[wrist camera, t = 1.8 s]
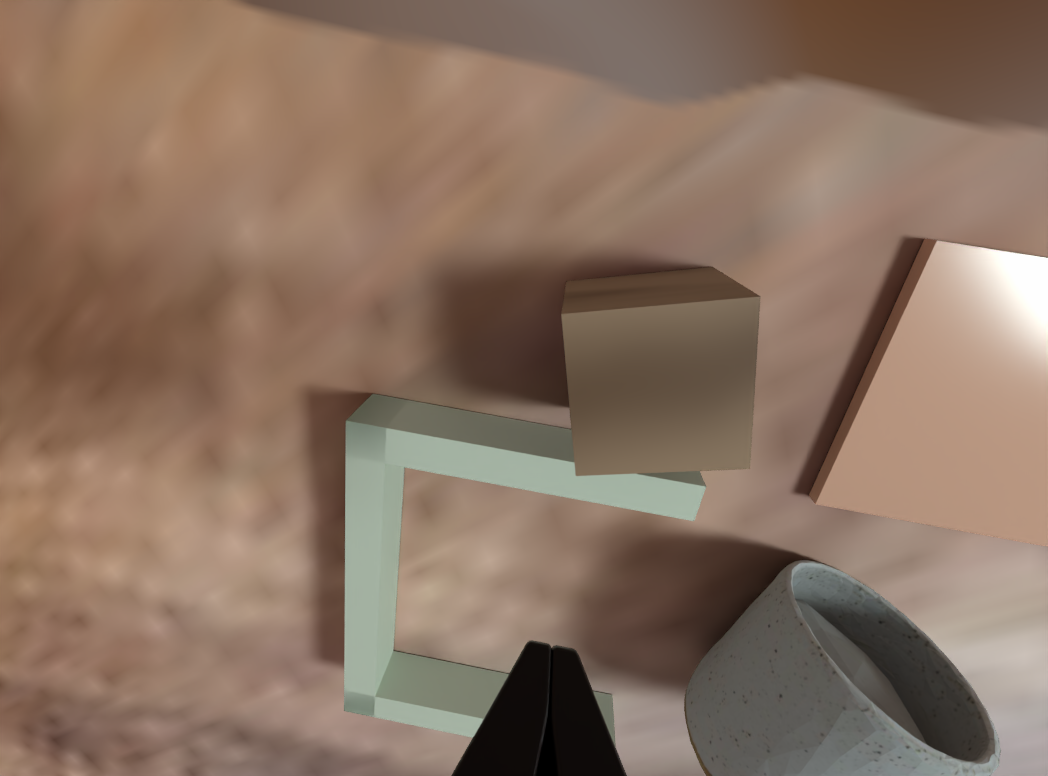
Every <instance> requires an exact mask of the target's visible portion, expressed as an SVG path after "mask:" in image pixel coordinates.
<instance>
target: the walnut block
mask: <svg viewBox="0 0 1048 776" xmlns="http://www.w3.org/2000/svg"><path fill="white" fill-rule="evenodd" d="M759 311H760V296H759V295H757V294H755V293H754V292H752V291H751V290H749V289H747V288H746V287H744V286H743V285H741V284H739V283H738V282H736V281H734V280H733V279H731V278H730V277H728V276H726V275H725V274H723V273H722V272H720V271H718V270H717V269H715V268H713V267H705V268H695V269H685V270H675V271H664V272H654V273H644V274H634V275H624V276H613V277H603V278H593V279H583V280H573V281H566V286H565V293H564V299H563V306H562V312H561V318H562V329H563V340H564V351H565V363H566V374H567V385H568V396H569V407H570V418H571V430H572V441H573V452H574V463H575V474H576V476H590V475H614V474H638V473H662V472H686V471H711V470H735V469H750V460H751V443H752V426H753V410H754V393H755V377H756V360H757V344H758V327H759Z"/></svg>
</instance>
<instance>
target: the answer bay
mask: <svg viewBox="0 0 1048 776" xmlns="http://www.w3.org/2000/svg"><path fill="white" fill-rule="evenodd" d="M404 467H406V468H411V469H417V470H422V471H428V472H433V473H438V474H444V475H449V476H454V477H460V478H465V479H470V480H476V481H481V482H487V483H492V484H497V485H503V486H508V487H513V488H519V489H524V490H529V491H535V492H540V493H545V494H551V495H556V496H562V497H567V498H572V499H578V500H583V501H588V502H594V503H599V504H604V505H610V506H615V507H621V508H626V509H631V510H637V511H642V512H647V513H653V514H658V515H663V516H669V517H674V518H680V519H685V520H690V521H694V520H695V517H696V514H697V511H698V508H699V506H700V503H701V500H702V497H703V494H704V491H705V488H706V485H705V483H704V481H703V478H702V476H701V473H700V471H686V472H662V473H638V474H614V475H590V476H576V474H575V463H574V452H573V441H572V430H571V429H565V428H560V427H554V426H549V425H543V424H538V423H532V422H527V421H521V420H516V419H510V418H504V417H499V416H493V415H488V414H482V413H477V412H471V411H466V410H460V409H455V408H449V407H444V406H438V405H433V404H427V403H422V402H416V401H410V400H405V399H399V398H394V397H388V396H383V395H377V394H372V395H371V396H370V397H369V398H368V399H367V400H366V401H365V402H364V403H363V404H362V405H361V406H360V407H359V408H358V409H357V410H356V411H355V412H354V413H353V414H352V415H351V416H350V417H349V418H348V419H347V420H346V476H345V653H344V711H347V712H352V713H357V714H362V715H366V716H371V717H376V718H381V719H386V720H390V721H395V722H400V723H405V724H410V725H415V726H419V727H424V728H429V729H434V730H439V731H443V732H448V733H453V734H458V735H463V736H467V737H472V738H473V737H474V735H475V733H476V731H477V730H478V728H479V726H480V724H481V723H482V721H483V719H484V717H485V716H486V714H487V712H488V710H489V709H490V707H491V705H492V703H493V702H494V700H495V698H496V696H497V694H498V693H499V691H500V689H501V687H502V686H503V684H504V682H505V680H506V679H507V677H508V675H509V674H506V673H501V672H496V671H491V670H486V669H481V668H476V667H471V666H466V665H461V664H456V663H451V662H447V661H442V660H437V659H432V658H427V657H422V656H417V655H412V654H407V653H402V652H397V651H393V648H394V632H395V615H396V599H397V583H398V566H399V550H400V533H401V517H402V500H403V484H404ZM593 692H594V695H595V697H596V700H597V703H598V705H599V708H600V710H601V713H602V715H603V718H604V720H605V723H606V725H607V728H608V730H609V733H610V735H611V738H612V740H613V743H614V745H615V730H614V714H613V698H612V695H610V694H605V693H600V692H595V691H593ZM615 746H616V745H615Z"/></svg>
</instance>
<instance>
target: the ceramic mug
mask: <svg viewBox="0 0 1048 776" xmlns="http://www.w3.org/2000/svg"><path fill="white" fill-rule="evenodd" d="M684 711H685V718H686V724H687V728H688V733H689V737H690V741H691V744H692V746H693V749H694V751H695V753H696V756H697V758H698V760H699V763H700V765H701V767H702V769H703V771H704V772H705V774H706V776H990V775H991V774H992V773H993V772H994V771H995V770H996V768H997V767H998V766H999V757H1000V752H1001V750H1000V745H999V738H998V735H997V733H996V730H995V728H994V725H993V723H992V721H991V718H990V716H989V714H988V712H987V710H986V709H985V707H984V706H983V704H982V703H981V701H980V699H979V698H978V696H977V694H976V693H975V691H974V690H973V688H972V686H971V685H970V684H969V682H968V681H967V680H966V679H965V678H964V676H963V675H962V674H961V673H960V672H959V671H958V669H957V668H956V667H955V666H954V664H953V663H952V662H951V661H950V660H949V659H948V657H947V656H946V655H945V654H944V653H943V652H942V651H941V650H940V649H939V648H938V647H937V646H936V644H935V643H934V642H933V641H932V640H931V639H930V638H929V637H928V636H927V635H926V634H925V633H924V632H923V631H921V630H920V629H919V628H918V627H917V626H916V625H915V624H914V623H913V622H912V621H911V620H909V619H908V618H907V617H906V616H905V615H904V614H903V613H902V612H900V611H899V610H898V609H896V608H895V607H894V606H893V605H892V604H891V603H889V602H888V601H887V600H886V599H884V598H883V597H882V596H880V595H879V594H878V593H876V592H875V591H874V590H872V589H870V588H869V587H867V586H865V585H864V584H862V583H861V582H859V581H857V580H856V579H854V578H852V577H850V576H849V575H847V574H845V573H843V572H842V571H839V570H837V569H835V568H832V567H830V566H828V565H825V564H822V563H819V562H815V561H809V560H801V561H795V562H793V563H791V564H789V565H787V566H786V567H785V568H784V569H783V570H782V571H781V572H780V573H779V574H778V575H777V577H776V578H775V579H774V580H773V582H772V583H771V584H770V585H769V586H768V587H767V588H766V589H765V590H764V591H763V592H762V593H761V594H760V595H759V596H758V597H757V599H756V600H755V601H754V602H753V603H752V604H751V605H750V606H749V607H748V608H747V610H746V611H745V612H744V613H743V614H742V615H741V616H740V617H739V619H738V620H737V621H736V622H735V623H734V625H733V626H732V627H731V628H730V629H729V630H728V631H727V633H726V634H725V635H724V636H723V637H722V638H721V639H720V640H719V641H718V642H717V643H716V644H715V645H714V646H713V647H712V648H711V649H710V650H709V651H708V653H707V654H706V655H705V656H704V657H703V659H702V660H701V661H700V662H699V664H698V666H697V668H696V670H695V671H694V673H693V675H692V677H691V679H690V681H689V684H688V687H687V689H686V694H685V702H684Z"/></svg>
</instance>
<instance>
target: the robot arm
mask: <svg viewBox="0 0 1048 776" xmlns="http://www.w3.org/2000/svg"><path fill="white" fill-rule="evenodd" d="M452 776H627V775H626V773H625V770H624V768H623V765H622V763H621V760H620V758H619V755H618V753H617V750H616V748H615V745H614V743H613V740H612V738H611V735H610V733H609V730H608V728H607V725H606V723H605V720H604V718H603V715H602V713H601V710H600V708H599V705H598V703H597V700H596V697H595V695H594V692H593V690H592V687H591V685H590V682H589V680H588V677H587V675H586V672H585V670H584V667H583V665H582V662H581V660H580V657H579V655H578V653H577V651H576V650H575V649H572V648H567V647H562V646H557V645H556V646H553V647H552V648H551V646H550V645H549V644H547V643H542V642H537V641H529V642H527V644H526V645H525V647H524V649H523V650H522V652H521V654H520V656H519V657H518V659H517V661H516V663H515V665H514V666H513V668H512V670H511V672H510V673H509V675H508V677H507V679H506V680H505V682H504V684H503V686H502V687H501V689H500V691H499V693H498V694H497V696H496V698H495V700H494V702H493V703H492V705H491V707H490V709H489V710H488V712H487V714H486V716H485V717H484V719H483V721H482V723H481V724H480V726H479V728H478V730H477V731H476V733H475V735H474V737H473V739H472V740H471V742H470V744H469V746H468V747H467V749H466V751H465V753H464V754H463V756H462V758H461V760H460V761H459V763H458V765H457V767H456V768H455V770H454V772H453V774H452Z"/></svg>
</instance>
